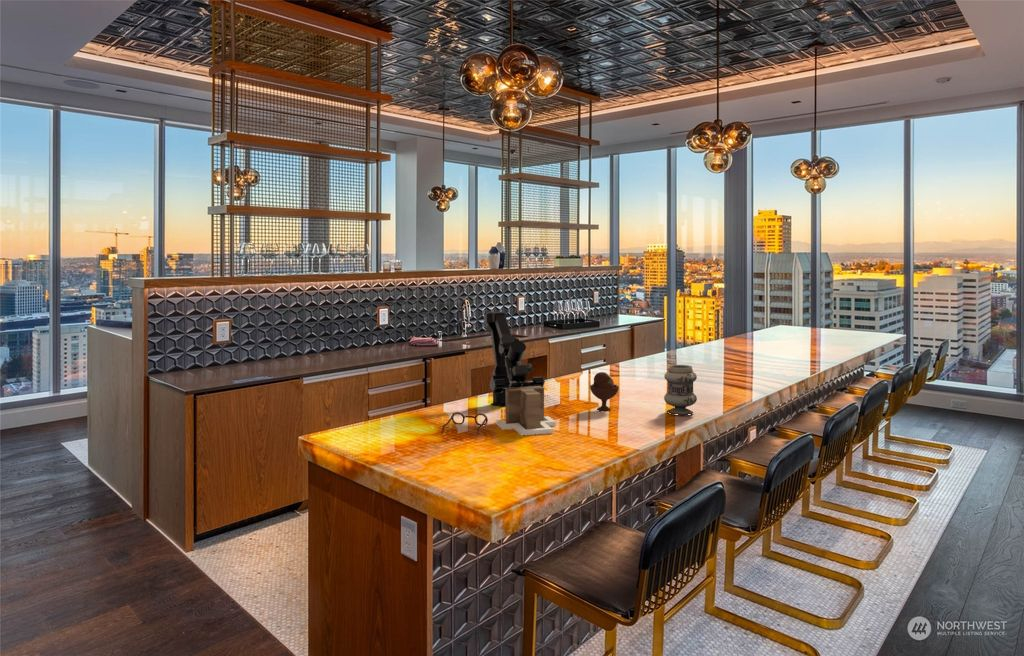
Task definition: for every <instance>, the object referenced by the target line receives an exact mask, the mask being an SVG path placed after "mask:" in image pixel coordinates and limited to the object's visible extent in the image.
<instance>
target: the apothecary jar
mask: <svg viewBox="0 0 1024 656" xmlns="http://www.w3.org/2000/svg"><path fill="white" fill-rule="evenodd" d="M697 378H698V376H697V374H696V373H695V371H693V366H692V365H688V364H673V365H672V364H671V365H669V367H668V370H667V371H666V372H665V374H664V379H665V380H666V381H667V392H666V393H665V394H664V396H663V401H664V402H665V403H666V404H667V405H669V406H671V407H672V408H670V409H668V410H666V413H667V412H669V413H671V414H678V415H688V414H692V413H694V412H693V410H691V409H690V408H689V409H688V408H687V407H691V406H693V405H694V404H696V403H697V400H698V398H697V395H696V394H695V393H694V382H695V381H696V380H697Z"/></svg>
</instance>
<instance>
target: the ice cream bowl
mask: <svg viewBox="0 0 1024 656" xmlns="http://www.w3.org/2000/svg"><path fill="white" fill-rule="evenodd" d="M589 388H590V391H591V393H592V395H593V396H595V397H596V398H597V399H599V400H601V406H599V407H597V408H596V410H599V411H598V412H601V411H609V412H611V411H612V408H610V407H608V405H607V402H608V400H610V399H612V398H614V397H615V396H616V395H617V394H618V391H619V388H620V386H619V385H617V384H615V383H614V379H613V378H612V377H611V376H610V375H609V374H608V373H607V372H603V371H600V372H597V373H596V374H595V375H594V377H593V384H590V385H589ZM610 410H611V411H610Z"/></svg>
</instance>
